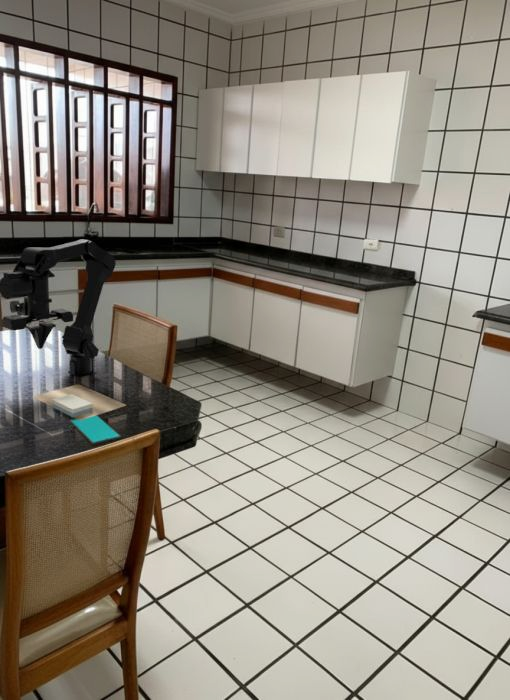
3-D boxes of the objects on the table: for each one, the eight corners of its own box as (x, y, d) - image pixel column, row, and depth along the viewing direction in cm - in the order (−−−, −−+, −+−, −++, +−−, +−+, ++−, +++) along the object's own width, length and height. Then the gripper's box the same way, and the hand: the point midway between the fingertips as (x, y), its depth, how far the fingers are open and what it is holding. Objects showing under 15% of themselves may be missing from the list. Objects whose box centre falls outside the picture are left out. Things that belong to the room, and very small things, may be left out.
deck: (72, 394, 146) (52, 399, 142) (92, 403, 141) (72, 409, 136) (72, 401, 147) (52, 407, 142) (92, 411, 142) (72, 417, 137)
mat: (78, 385, 160) (78, 384, 160) (126, 406, 147) (126, 405, 147) (31, 397, 148) (31, 396, 148) (79, 422, 136) (79, 420, 136)
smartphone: (96, 414, 140) (121, 436, 129) (96, 417, 140) (121, 439, 129) (68, 419, 136) (92, 443, 124) (68, 423, 136) (92, 446, 125)
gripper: (51, 286, 160) (53, 337, 164) (-11, 292, 145) (-7, 347, 150) (73, 293, 154) (74, 345, 158) (11, 299, 139) (14, 357, 143)
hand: (39, 348), depth 152 cm, fingers closed
